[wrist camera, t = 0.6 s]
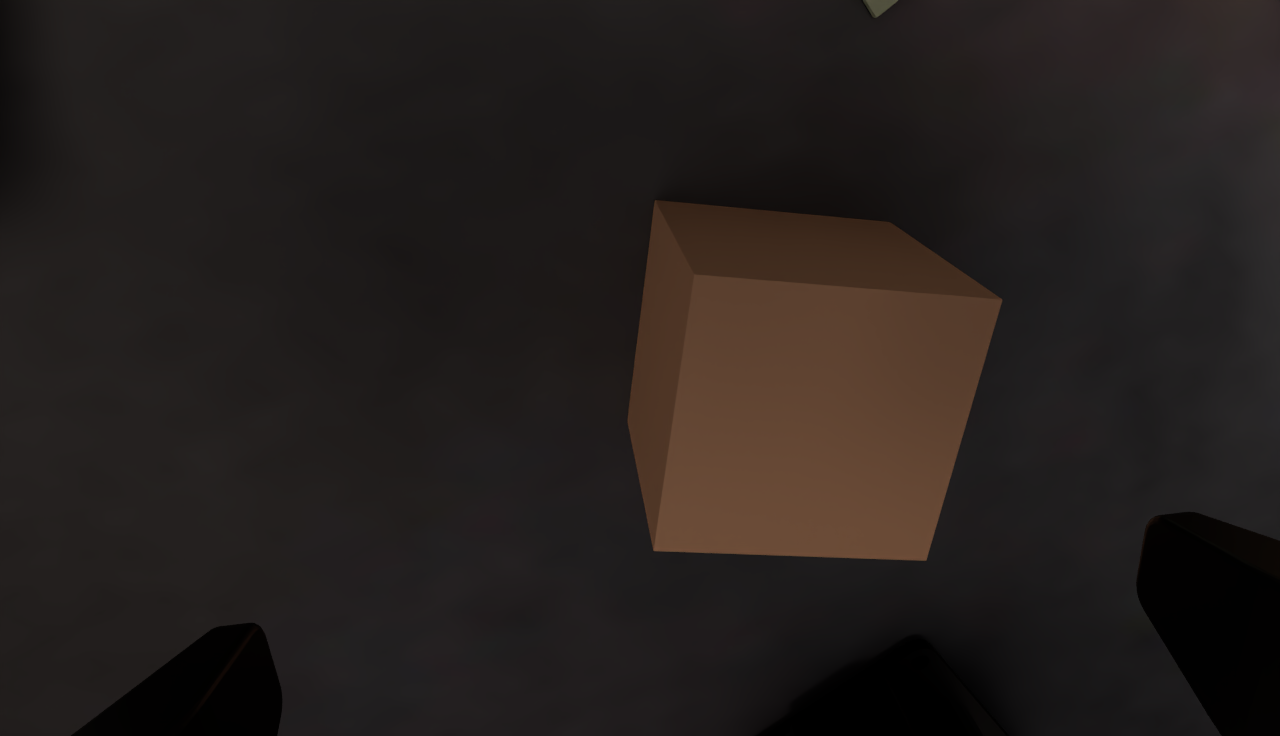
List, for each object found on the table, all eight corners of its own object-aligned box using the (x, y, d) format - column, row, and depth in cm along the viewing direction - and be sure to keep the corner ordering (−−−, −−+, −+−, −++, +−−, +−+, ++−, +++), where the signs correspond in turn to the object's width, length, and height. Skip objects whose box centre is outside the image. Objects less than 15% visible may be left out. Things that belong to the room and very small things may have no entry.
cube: (889, 220, 20) (1001, 299, 15) (839, 431, 23) (926, 561, 18) (654, 199, 20) (694, 274, 15) (627, 419, 22) (653, 551, 17)
